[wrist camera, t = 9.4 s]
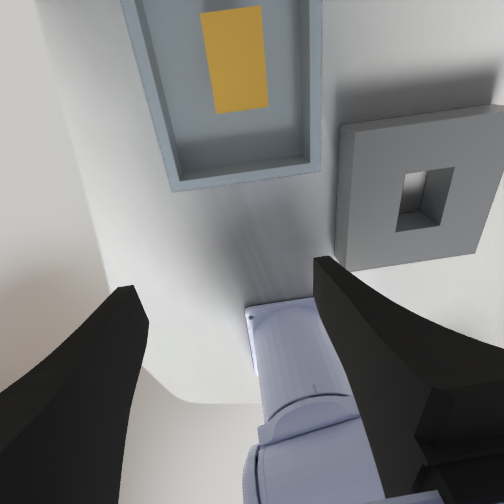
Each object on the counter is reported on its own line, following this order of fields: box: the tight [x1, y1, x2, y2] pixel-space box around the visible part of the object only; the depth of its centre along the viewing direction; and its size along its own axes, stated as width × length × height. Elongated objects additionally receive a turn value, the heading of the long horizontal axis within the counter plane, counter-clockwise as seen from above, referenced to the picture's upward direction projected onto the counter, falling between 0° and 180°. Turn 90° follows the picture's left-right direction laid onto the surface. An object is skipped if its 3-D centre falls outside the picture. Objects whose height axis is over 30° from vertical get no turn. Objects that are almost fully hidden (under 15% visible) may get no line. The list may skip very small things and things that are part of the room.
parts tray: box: [120, 0, 322, 193], centre depth 16 cm, size 12×9×2 cm
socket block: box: [334, 104, 504, 272], centre depth 21 cm, size 10×10×2 cm
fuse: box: [200, 5, 269, 114], centre depth 13 cm, size 3×2×7 cm, turn 7°
